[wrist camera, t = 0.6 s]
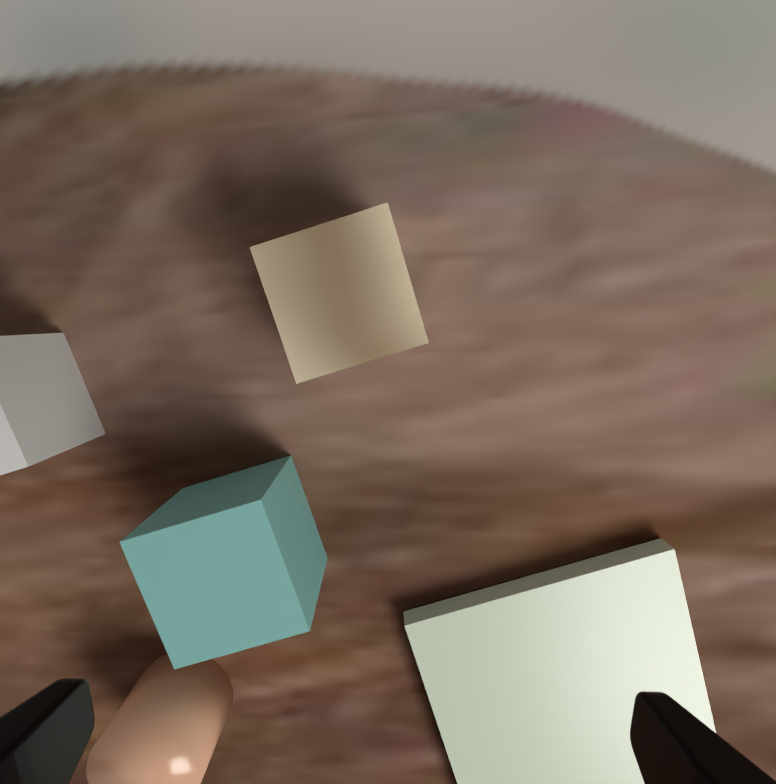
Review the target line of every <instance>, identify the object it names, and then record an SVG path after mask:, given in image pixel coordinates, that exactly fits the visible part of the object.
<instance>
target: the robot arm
mask: <svg viewBox="0 0 776 784" xmlns="http://www.w3.org/2000/svg"><path fill="white" fill-rule="evenodd" d="M93 727H94V712H93V706H92V699H91V693H90V687H89V683H88V682H87V681H86V680H84V679H68V678H64V679H60V680H57V681H55V682H54V683H52V684H51V685H49V686H47V687H46V688H44V689H43V690H41V691H40V692H38V693H37V694H35V695H34V696H32V697H31V698H29V699H28V700H26V701H25V702H23V703H21V704H20V705H18V706H17V707H15V708H14V709H12V710H11V711H9V712H8V713H6V714H5V715H3V716H2V717H0V784H68V783H69V781H70V779H71V777H72V775H73V773H74V771H75V769H76V766H77V764H78V762H79V760H80V758H81V756H82V754H83V752H84V749H85V747H86V745H87V743H88V741H89V739H90V736H91V734H92V731H93ZM630 741H631V745H632V749H633V752H634V755H635V758H636V761H637V764H638V766H639V769H640V772H641V775H642V778H643V781H644V783H645V784H776V781H775V780H774V779H773V778H771V777H770V776H769V775H768V774H766V773H765V772H764V771H763V770H761V769H760V768H759V767H758V766H756V765H755V764H754V763H753V762H751V761H750V760H749V759H748V758H746V757H745V756H744V755H743V754H741V753H740V752H739V751H738V750H736V749H735V748H734V747H733V746H731V745H730V744H729V743H728V742H726V741H725V740H724V739H723V738H721V737H720V736H719V735H718V734H716V733H715V732H714V731H713V730H711V729H710V728H709V727H708V726H706V725H705V724H704V723H703V722H701V721H700V720H699V719H698V718H696V717H695V716H694V715H693V714H691V713H690V712H689V711H688V710H686V709H685V708H684V707H683V706H681V705H680V704H679V703H678V702H676V701H675V700H674V699H673V698H671V697H670V696H669V695H667V694H665V693H663V692H645V691H642V692H639V693H638V694H637V695H636V697H635V702H634V708H633V714H632V721H631V727H630Z"/></svg>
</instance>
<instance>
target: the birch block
mask: <svg viewBox="0 0 776 784" xmlns="http://www.w3.org/2000/svg"><path fill="white" fill-rule="evenodd" d="M250 250H251V253H252V256H253V259H254V262H255V264H256V267H257V270H258V273H259V276H260V279H261V282H262V285H263V288H264V291H265V294H266V296H267V299H268V302H269V305H270V308H271V311H272V314H273V317H274V320H275V323H276V326H277V328H278V331H279V334H280V337H281V340H282V343H283V346H284V349H285V352H286V355H287V358H288V360H289V363H290V366H291V369H292V372H293V375H294V378H295V381H296V384H297V383H300V382H304V381H307V380H310V379H313V378H317V377H320V376H323V375H326V374H329V373H333V372H336V371H339V370H342V369H346V368H349V367H352V366H355V365H359V364H362V363H365V362H368V361H372V360H375V359H378V358H381V357H385V356H388V355H391V354H394V353H398V352H401V351H404V350H407V349H411V348H414V347H417V346H420V345H424V344H427V343H429V342H428V339H427V335H426V332H425V329H424V325H423V322H422V318H421V315H420V312H419V308H418V305H417V301H416V298H415V295H414V291H413V288H412V284H411V281H410V277H409V274H408V271H407V267H406V264H405V260H404V257H403V254H402V250H401V247H400V243H399V240H398V237H397V233H396V230H395V226H394V223H393V220H392V216H391V213H390V209H389V206H388V203H385V204H381V205H378V206H375V207H372V208H369V209H366V210H363V211H360V212H357V213H354V214H351V215H347V216H344V217H341V218H338V219H335V220H332V221H329V222H326V223H323V224H320V225H317V226H313V227H310V228H307V229H304V230H301V231H298V232H295V233H292V234H289V235H286V236H283V237H279V238H276V239H273V240H270V241H267V242H264V243H261V244H258V245H255V246H252V247H250Z"/></svg>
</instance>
